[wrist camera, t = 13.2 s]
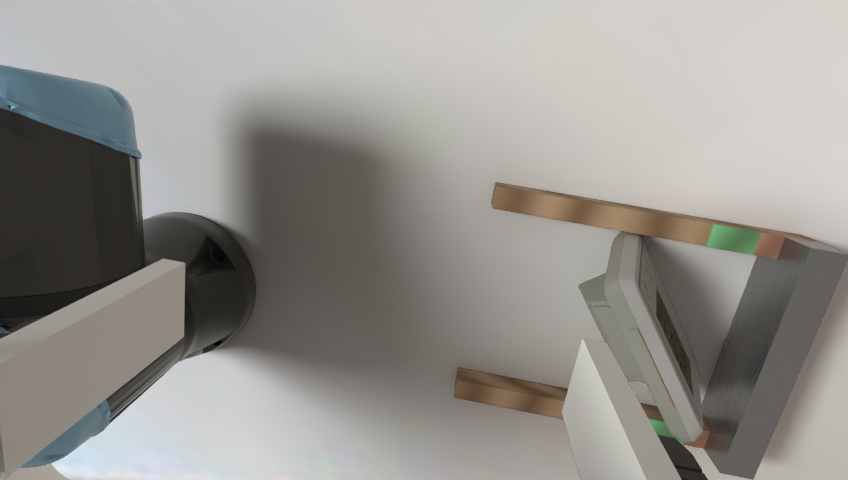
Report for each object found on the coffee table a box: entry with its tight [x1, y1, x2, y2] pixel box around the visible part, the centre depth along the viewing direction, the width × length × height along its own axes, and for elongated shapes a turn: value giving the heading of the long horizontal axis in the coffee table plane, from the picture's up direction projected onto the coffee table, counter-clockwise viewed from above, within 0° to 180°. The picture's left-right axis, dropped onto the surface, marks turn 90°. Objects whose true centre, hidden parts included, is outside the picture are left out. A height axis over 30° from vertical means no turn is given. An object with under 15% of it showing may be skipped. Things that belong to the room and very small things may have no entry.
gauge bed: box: [454, 182, 817, 449], centre depth 47 cm, size 28×22×3 cm
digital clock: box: [579, 231, 703, 442], centre depth 42 cm, size 16×9×11 cm, turn 17°
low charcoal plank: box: [701, 237, 848, 479], centre depth 44 cm, size 3×22×6 cm, turn 171°
